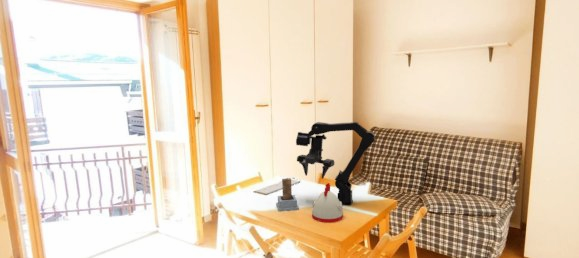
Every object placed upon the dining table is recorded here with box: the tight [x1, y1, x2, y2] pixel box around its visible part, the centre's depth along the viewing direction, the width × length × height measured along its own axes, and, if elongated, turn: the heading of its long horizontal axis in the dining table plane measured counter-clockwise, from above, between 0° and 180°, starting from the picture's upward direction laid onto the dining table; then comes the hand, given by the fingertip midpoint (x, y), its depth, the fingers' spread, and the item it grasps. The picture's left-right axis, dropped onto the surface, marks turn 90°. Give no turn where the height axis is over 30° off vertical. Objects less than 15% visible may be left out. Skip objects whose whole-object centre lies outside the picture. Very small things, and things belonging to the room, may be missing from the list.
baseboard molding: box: [252, 177, 301, 196], centre depth 195 cm, size 31×3×12 cm
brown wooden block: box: [281, 177, 293, 200], centre depth 159 cm, size 4×3×13 cm
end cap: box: [275, 194, 300, 212], centre depth 159 cm, size 10×10×4 cm
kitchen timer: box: [311, 182, 344, 224], centre depth 145 cm, size 14×14×15 cm
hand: (314, 177), depth 166 cm, fingers open, 9 cm apart
